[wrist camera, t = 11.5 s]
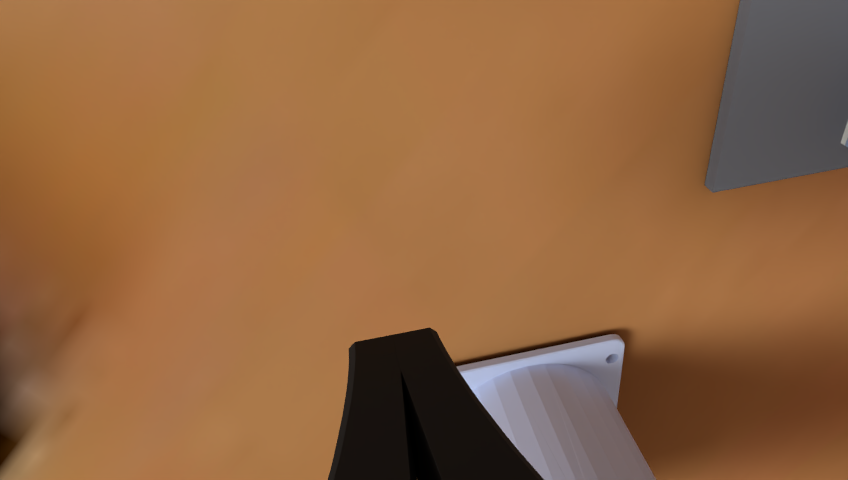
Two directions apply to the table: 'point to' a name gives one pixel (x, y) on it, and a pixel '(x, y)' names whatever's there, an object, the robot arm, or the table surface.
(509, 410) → the robot arm
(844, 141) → the card deck
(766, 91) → the grey rectangular slab
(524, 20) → the table surface
